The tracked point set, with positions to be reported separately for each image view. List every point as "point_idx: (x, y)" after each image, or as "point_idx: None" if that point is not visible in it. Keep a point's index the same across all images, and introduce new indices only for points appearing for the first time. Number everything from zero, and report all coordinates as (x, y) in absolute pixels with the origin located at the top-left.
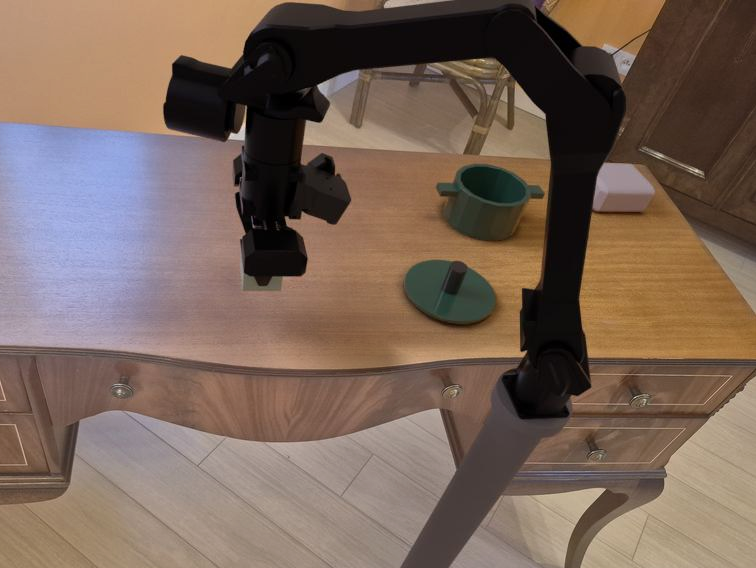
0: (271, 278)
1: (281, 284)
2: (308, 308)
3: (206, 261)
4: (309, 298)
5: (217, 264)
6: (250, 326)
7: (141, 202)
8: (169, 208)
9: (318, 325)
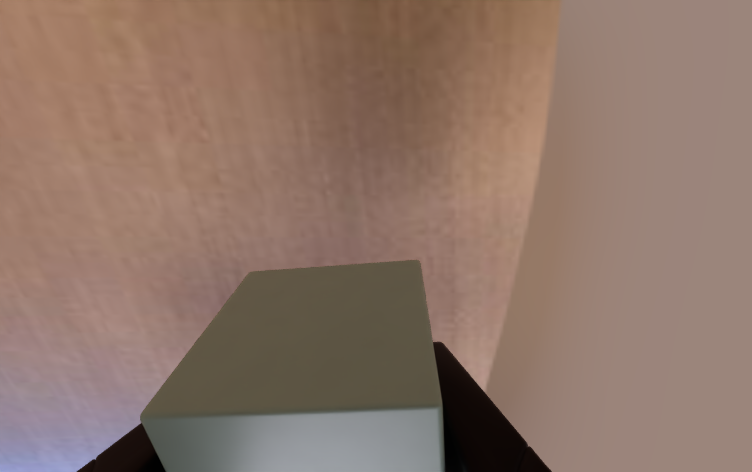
0: (471, 377)
1: (419, 277)
2: (291, 75)
3: (169, 350)
4: (241, 69)
5: (172, 327)
6: (390, 251)
7: (24, 467)
8: (12, 423)
9: (369, 41)
